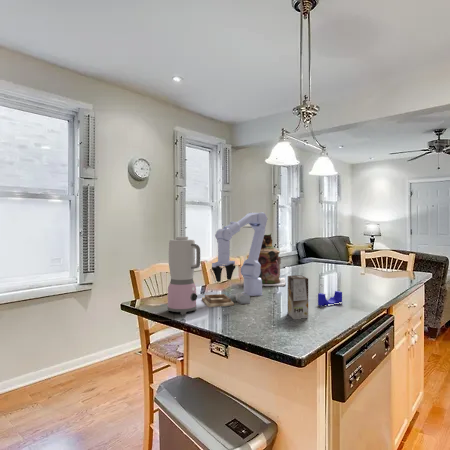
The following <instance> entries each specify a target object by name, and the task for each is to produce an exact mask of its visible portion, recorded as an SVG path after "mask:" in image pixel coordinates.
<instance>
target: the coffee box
mask: <svg viewBox="0 0 450 450" xmlns="http://www.w3.org/2000/svg"><path fill="white" fill-rule="evenodd" d="M287 315H288V316H289V317H291V319H292V320H302V319H301V318H308V319H309V278H308V277H305V276H303V274H302V275H301V274H300V275H298V274H297V275H296V274H295V275H287Z"/></svg>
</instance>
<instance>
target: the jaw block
mask: <svg viewBox="0 0 450 450" xmlns="http://www.w3.org/2000/svg"><path fill="white" fill-rule="evenodd" d="M235 302H237V303H238V305H246V304H251V296H250V295H248V294H247V293H241V292H236V293H235Z"/></svg>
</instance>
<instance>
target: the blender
mask: <svg viewBox="0 0 450 450" xmlns="http://www.w3.org/2000/svg"><path fill="white" fill-rule="evenodd" d="M195 243H196V241H195V240H194V239H189V237H188V236H176V237H175V239H170V240H169V241H168V268H169V274H170V281H169V284H168V287H167V312H168V311H170V312H175V313H180V315H181V314H186V315H187V312H192V311H193V312H195V311H196V312H197V298H198V295H197V286H196V284H195V281H194V275H195V274H194V273H195V270H196V269H199V268H200V266H201V247H200V246H199V245H198V244H195Z"/></svg>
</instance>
